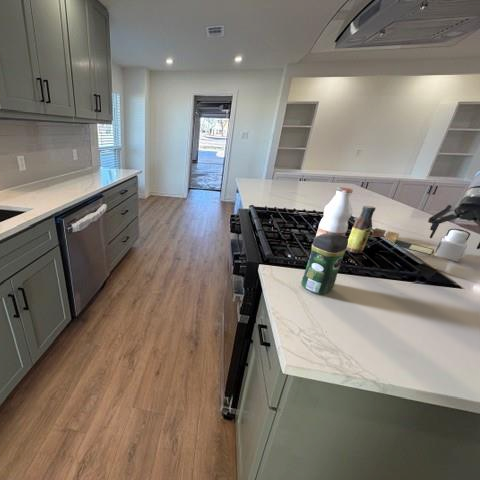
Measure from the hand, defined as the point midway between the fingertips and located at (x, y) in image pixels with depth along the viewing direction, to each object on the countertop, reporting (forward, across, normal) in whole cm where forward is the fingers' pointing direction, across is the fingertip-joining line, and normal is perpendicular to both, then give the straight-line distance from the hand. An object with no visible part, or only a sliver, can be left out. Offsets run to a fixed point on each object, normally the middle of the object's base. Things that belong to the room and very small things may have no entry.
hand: (453, 241), depth 105 cm
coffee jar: (+56, -24, -46) cm, 76 cm away
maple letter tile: (+5, -19, +4) cm, 20 cm away
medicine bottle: (+5, 0, +5) cm, 7 cm away
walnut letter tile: (+5, -24, +4) cm, 25 cm away
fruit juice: (+36, -32, -26) cm, 54 cm away
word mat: (+5, -15, +4) cm, 17 cm away
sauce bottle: (+24, -26, -14) cm, 38 cm away
